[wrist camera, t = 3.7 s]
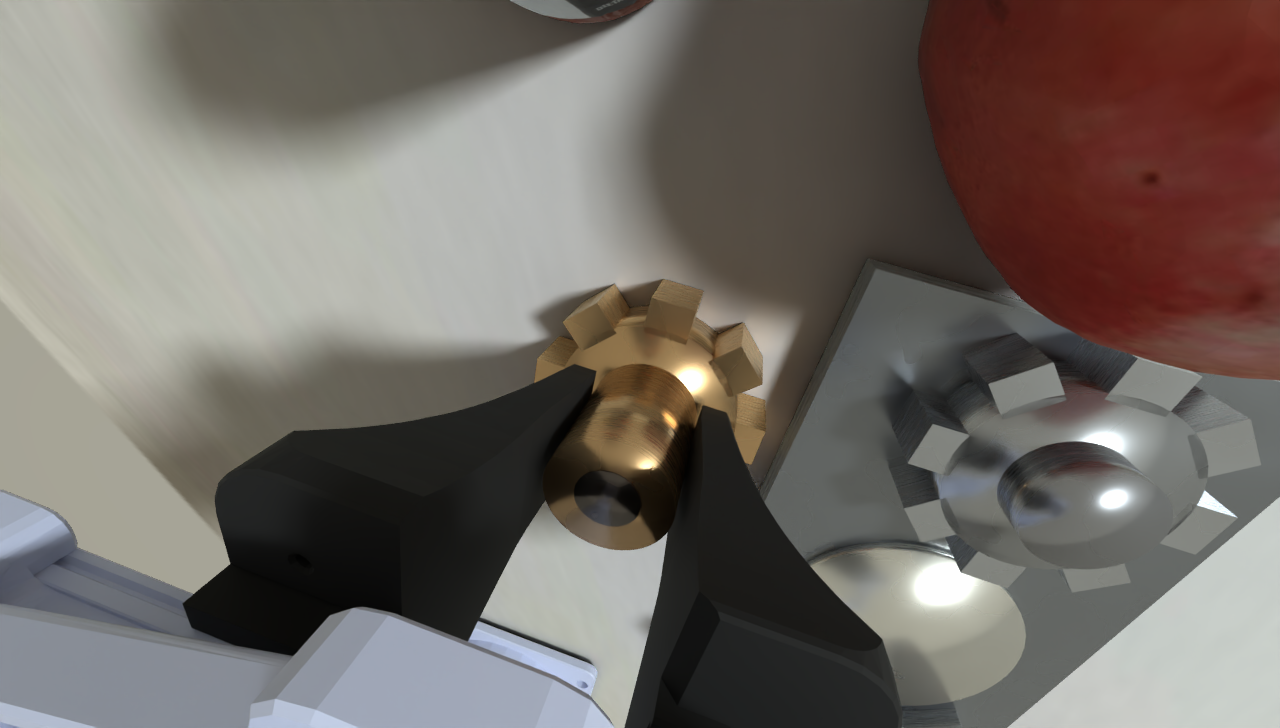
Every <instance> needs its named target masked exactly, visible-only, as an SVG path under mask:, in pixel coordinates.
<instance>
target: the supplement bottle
mask: <svg viewBox="0 0 1280 728" xmlns="http://www.w3.org/2000/svg"><path fill="white" fill-rule="evenodd" d="M510 1H512V2H514V3H516V4H518V5H520V6H522V7H524V8H526V9H528V10H531V11H534V12H536V13H539V14H541V15H544V16H547V17H550V18H553V19H557V20H560V21H568V22H571V23H579V24H580V23H596V22H605V21H609V20H615V19H617V18H619V17H621V16H625V15H627V14H629V13H631V12H634V11H636V10H638V9H640V8H642V7H643V6H645V5H646V4H648V3H649V2H651V1H652V0H510Z"/></svg>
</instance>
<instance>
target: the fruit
mask: <svg viewBox="0 0 1280 728" xmlns="http://www.w3.org/2000/svg"><path fill="white" fill-rule="evenodd" d="M918 66H919V74H920V77H921V81H922V87H923V93H924V99H925V105H926V109H927V113H928V116H929V120H930V124H931V129H932V133H933V137H934V141H935V146H936V149H937V152H938V155H939V158H940V161H941V164H942V167H943V170H944V173H945V176H946V178H947V181H948V184H949V186H950V188H951V190H952V192H953V194H954V196H955V198H956V201H957V203H958V205H959V207H960V209H961V211H962V213H963V215H964V217H965V219H966V221H967V223H968V225H969V227H970V229H971V231H972V233H973V235H974V237H975V239H976V241H977V243H978V244H979V246H980V247H981V249H982V250H983V252H984V253H985V255H986V257H987V258H988V259H989V260H990V261H991V263H992V264H993V265H994V266H995V267H996V269H997V270H998V271H999V272H1000V274H1001V275H1002V277H1003V278H1004V280H1005V281H1006V282H1007V284H1008V285H1009V286H1010V287H1011V289H1012V290H1013V291H1014V292H1015V293H1016V294H1017V295H1018V296H1019V297H1020V298H1021V299H1023V300H1024V301H1025V302H1026V303H1027V304H1028V305H1029V306H1031V307H1032V308H1034V309H1035V310H1036V311H1038V312H1039V313H1041V314H1042V315H1044V316H1045V317H1046V318H1048V319H1049V320H1051V321H1052V322H1054V323H1055V324H1058V325H1060V326H1062V327H1064V328H1066V329H1068V330H1070V331H1072V332H1074V333H1075V334H1077V335H1079V336H1080V337H1082V338H1084V339H1086V340H1089V341H1091V342H1093V343H1096V344H1098V345H1101V346H1105V347H1108V348H1111V349H1115V350H1118V351H1122V352H1125V353H1128V354H1132V355H1135V356H1138V357H1141V358H1144V359H1148V360H1151V361H1154V362H1158V363H1162V364H1166V365H1169V366H1173V367H1177V368H1181V369H1185V370H1189V371H1194V372H1200V373H1207V374H1215V375H1222V376H1229V377H1236V378H1247V379H1265V380H1280V0H930V1H929V5H928V9H927V13H926V17H925V21H924V25H923V28H922V33H921V38H920V43H919V51H918Z"/></svg>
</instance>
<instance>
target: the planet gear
mask: <svg viewBox="0 0 1280 728" xmlns="http://www.w3.org/2000/svg"><path fill="white" fill-rule="evenodd" d="M703 292H704V291H702V290H699V289H695V288H692V287H689V286H685V285H682V284H678V283H675V282H672V281H668V280H665V279H663V281H662V282H661V284H660V285H659V287H658V288H657V290H656V291H655V293H654V294H653V296H652V297H651V301H650V305H646V306H637V307H631V308H629V306H628V304H627V303H626V301H625V300H624V298H623V296H622V295H621V293H620V292H619V290H618V288H617V287H616V285H615V284H614V285H612V286H610V287H609V288H607V289H605V290H603V291H602V292H600V293H598V294H596V295H595V296H593V297H591V298H589V299H588V300H586V301H584V302H583V303H582V304H581V305H580V306H579V307H578V308H577V309H576V310H574V311H573V312H572V313H571V314H570V315H569V316H568V317H567V318H566V319H565V320H564V321H563V324H564V325H565V327H566V328H567V330H568V331H569V333H570V334H571V336H572V337H573V339H574V340H575V341H574V340H571V339H568V338H565V337H562V336H559V337H558V338H557V339H556V340H555V341H554V342H553V343H552V344H551V345H550V346H549V347H548V348H547V349H546V350H545V351H544V352H543V354H542V355H541V356H540V357H539V358H538V359H537V365H536V372H535V379H534V383H535V382H538V381H540V380H542V379H544V378H546V377H548V376H550V375H552V374H554V373H556V372H558V371H560V370H563V369H565V368H567V367H569V366H571V365H573V364H576V365H579V366H583V367H586V368H589V369H592V370H595V371H597V372H596V376H595V381H594V386H593V391H592V395H591V397H590V398H589V400H588V401H587V403H586V404H585V406H584V408H583V409H582V411H581V412H580V414H579V415H578V417H577V418H576V420H575V422H574V423H573V425H572V426H571V428H570V429H569V431H568V432H567V434H566V436H565V437H564V439H563V440H562V442H561V443H560V445H559V446H558V448H557V450H556V451H555V453H554V454H553V456H552V457H551V459H550V460H549V462H548V464H547V466H546V468H545V470H544V474H543V492H544V496H545V499H546V502H547V504H548V506H549V508H550V510H551V511H552V513H553V514H554V516H555V517H556V518H557V519H558V521H559V522H560V523H561V524H562V525H563V526H564V527H565V528H567V529H568V530H569V531H570V532H572V533H573V534H575V535H576V536H578V537H579V538H581V539H583V540H585V541H587V542H589V543H592V544H594V545H597V546H600V547H603V548H608V549H614V550H634V549H639V548H644V547H646V546H649V545H651V544H653V543H655V542H657V541H658V540H660V539H661V538H662V537H663V536H664V535H665V534H666V533H667V532H668V531H669V529H670V528H671V526H672V524H673V522H674V518H675V515H676V510H677V506H678V501H679V497H680V492H681V488H682V484H683V479H684V475H685V470H686V466H687V462H688V456H689V451H690V447H691V442H692V438H693V434H694V429H695V426H696V423H697V420H698V418H699V415H700V412H701V409H702V406H703V405H705V406H708V407H711V408H714V409H717V410H721V411H724V412H727V414H728V416H729V419H730V423H731V426H732V429H733V432H734V435H735V438H736V441H737V444H738V447H739V449H740V452H741V454H742V457H743V459H744V462H745V463H748V464H752V462H753V460H754V457H755V455H756V453H757V450H758V448H759V446H760V444H761V441H762V439H763V437H764V434H765V432H766V420H765V400H762V399H759V398H756V397H753V396H750V395H746V394H743V393H742V392H745V391H747V390H750V389H752V388H755V387H757V386H760V385H762V376H763V357H762V355H761V353H760V351H759V349H758V347H757V346H756V344H755V342H754V340H753V338H752V337H751V335H750V333H749V331H748V329H747V327H746V326H745V324H744V323H742V324H740V325H738V326H736V327H733V328H731V329H729V330H727V331H725V332H723V333H721V334H717V333H716V332H715V331H714V330H713V329H711V328H710V327H709V326H708V325H707V324H705V323H704V322H702V321H701V320H699V319H698V318H696V315H697V311H698V308H699V305H700V302H701V298H702V295H703Z"/></svg>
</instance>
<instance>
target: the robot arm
mask: <svg viewBox="0 0 1280 728" xmlns="http://www.w3.org/2000/svg"><path fill="white" fill-rule="evenodd" d="M596 372H597V371H595V370H592V369H589V368H586V367H583V366H579V365H576V364H573V365H571V366H569V367H567V368H565V369H563V370H560V371H558V372H556V373H554V374H552V375H550V376H548V377H546V378H544V379H542V380H540V381H538V382H535V383H533V384H531V385H529V386H527V387H525V388H522V389H520V390H517V391H515V392H512V393H510V394H507V395H505V396H502V397H499V398H497V399H494V400H492V401H489V402H486V403H483V404H480V405H477V406H474V407H470V408H467V409H463V410H459V411H456V412H452V413H448V414H443V415H438V416H433V417H429V418H424V419H419V420H414V421H408V422H402V423H395V424H388V425H379V426H370V427H361V428H349V429H328V430H308V431H293V432H292V433H290V434H288V435H287V436H285V437H283V438H282V439H280V440H279V441H277V442H276V443H274V444H273V445H271V446H269V447H268V448H266V449H265V450H263V451H262V452H260V453H259V454H257V455H256V456H254V457H252V458H251V459H249V460H248V461H246V462H245V463H243V464H242V465H240V466H238V467H237V468H235V469H234V470H232V471H231V472H229V473H228V474H227V475H226V476H225V477H224V478H223V479H222V480H221V481H220V482H219V483H218V487H217V491H216V495H215V506H216V513H217V518H218V521H219V525H220V528H221V532H222V535H223V539H224V542H225V546H226V549H227V553H228V557H229V560H230V565H229V566H227V567H226V568H225V569H224V570H223V571H221V572H220V573H219V574H218V575H216V576H215V577H214V578H213V579H212V580H210V581H209V582H208V583H207V584H205V585H204V586H203V587H202V588H201V589H200V590H198V591H197V592H196V593H195V594H192V593H190V592H187V591H185V590H182V589H179V588H177V587H175V586H172V585H170V584H167V583H165V582H162V581H160V580H157V579H155V578H152V577H150V576H147V575H145V574H142V573H140V572H137V571H135V570H132V569H130V568H127V567H125V566H122V565H120V564H117V563H115V562H112V561H110V560H107V559H105V558H102V557H100V556H97V555H95V554H92V553H90V552H87V551H85V550H82V549H80V548H78V547H77V540H76V537H75V534H74V532H73V530H72V528H71V527H70V525H69V524H68V522H67V521H66V520H65V519H64V518H63V517H62V516H61V515H59V514H58V513H57V512H55V511H53V510H51V509H50V508H48V507H45V506H43V505H40V504H37V503H35V502H32V501H30V500H27V499H25V498H22V497H20V496H17V495H15V494H12V493H10V492H7V491H4V490H0V728H614V726H613V724H612V722H611V720H610V719H609V717H608V716H607V715H606V714H605V713H604V711H603V710H602V709H601V708H600V707H599V706H598V705H597V703H596V702H595V701H594V700H593V699H592V698H591V693H592V690H593V687H594V684H595V681H596V677H597V670H596V668H595V667H594V666H593V665H591V664H589V663H587V662H584V661H582V660H579V659H577V658H574V657H571V656H569V655H566V654H563V653H561V652H558V651H556V650H553V649H550V648H548V647H545V646H542V645H540V644H537V643H535V642H532V641H529V640H527V639H524V638H522V637H519V636H516V635H514V634H511V633H508V632H506V631H503V630H501V629H498V628H495V627H493V626H490V625H487V624H485V623H482V622H480V621H478V620H479V618H480V616H481V614H482V612H483V610H484V608H485V606H486V604H487V602H488V600H489V598H490V596H491V594H492V592H493V590H494V588H495V586H496V584H497V582H498V580H499V578H500V576H501V574H502V572H503V570H504V568H505V567H506V565H507V563H508V561H509V559H510V557H511V555H512V553H513V551H514V549H515V547H516V545H517V544H518V542H519V540H520V539H521V537H522V535H523V534H524V532H525V530H526V529H527V527H528V526H529V524H530V523H531V521H532V520H533V518H534V517H535V515H536V513H537V512H538V510H539V509H540V507H541V506H542V504H543V503H544V501H545V500H546V499H545V496H544V492H543V474H544V470H545V468H546V466H547V464H548V462H549V460H550V459H551V457H552V456H553V454H554V453H555V451H556V450H557V448H558V446H559V445H560V443H561V442H562V440H563V439H564V437H565V436H566V434H567V432H568V431H569V429H570V428H571V426H572V425H573V423H574V422H575V420H576V418H577V417H578V415H579V414H580V412H581V411H582V409H583V408H584V406H585V404H586V403H587V401H588V400H589V398H590V397H591V395H592V391H593V386H594V381H595V376H596ZM902 719H903V710H902V706H901V702H900V698H899V694H898V689H897V685H896V681H895V677H894V674H893V670H892V666H891V664H890V661H889V658H888V655H887V652H886V649H885V646H884V642H883V640H882V638H881V637H880V636H879V635H878V634H877V633H876V632H875V631H873V630H872V629H871V628H870V627H869V626H868V625H867V624H866V623H865V622H864V621H863V620H862V619H861V618H860V617H859V616H858V615H857V614H856V613H854V612H853V611H852V610H851V609H850V608H849V607H848V606H847V605H846V604H845V603H844V602H843V601H842V600H841V599H840V598H839V597H838V596H837V595H836V594H835V593H834V592H833V591H832V590H831V589H830V587H829V586H828V585H827V584H826V583H825V582H824V581H823V580H822V579H821V578H820V577H819V576H818V574H817V573H816V572H815V571H814V570H813V569H812V567H811V566H810V565H809V564H808V563H807V562H806V560H805V559H804V558H803V557H802V555H801V554H800V553H799V552H798V550H797V549H796V548H795V546H794V545H793V544H792V543H791V541H790V540H789V539H788V537H787V536H786V535H785V533H784V532H783V530H782V529H781V528H780V526H779V525H778V523H777V522H776V520H775V519H774V517H773V515H772V514H771V512H770V511H769V509H768V508H767V506H766V504H765V503H764V501H763V499H762V497H761V495H760V493H759V491H758V490H757V488H756V486H755V484H754V482H753V480H752V477H751V475H750V473H749V471H748V469H747V466H746V464H745V462H744V459H743V457H742V454H741V452H740V449H739V447H738V444H737V441H736V438H735V435H734V432H733V429H732V426H731V423H730V419H729V416H728V414H727V412H724V411H721V410H717V409H714V408H711V407H708V406H705V405H703V406H702V409H701V412H700V415H699V418H698V420H697V423H696V426H695V429H694V434H693V438H692V442H691V447H690V451H689V456H688V462H687V466H686V470H685V475H684V479H683V484H682V488H681V492H680V497H679V501H678V506H677V510H676V515H675V518H674V522H673V524H672V526H671V528H670V529H669V531H668V535H667V542H666V548H665V555H664V562H663V569H662V576H661V582H660V587H659V592H658V597H657V601H656V605H655V609H654V613H653V617H652V622H651V626H650V630H649V634H648V638H647V642H646V646H645V650H644V654H643V658H642V662H641V666H640V670H639V674H638V677H637V681H636V685H635V689H634V693H633V697H632V701H631V705H630V709H629V712H628V716H627V720H626V724H625V728H902Z"/></svg>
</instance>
